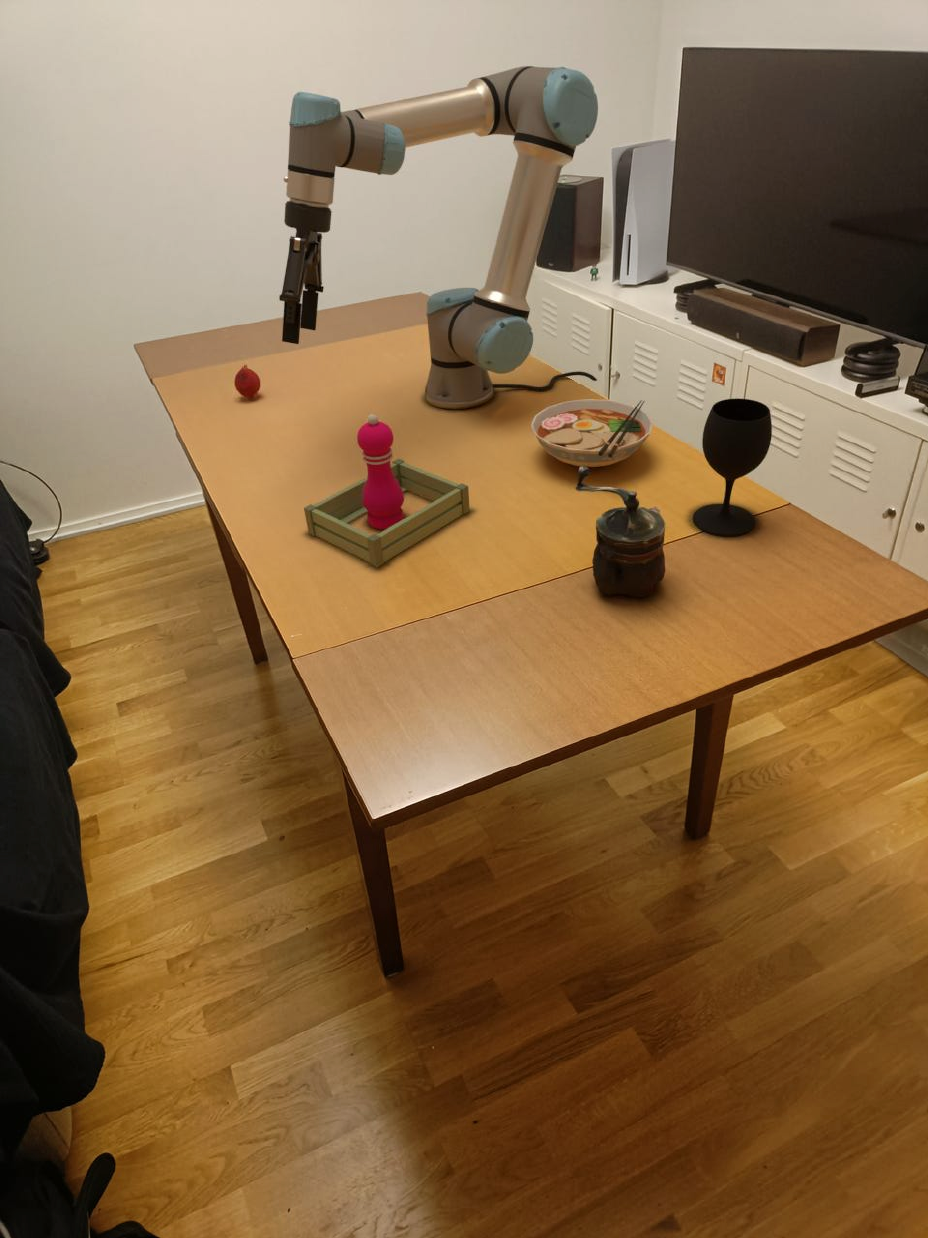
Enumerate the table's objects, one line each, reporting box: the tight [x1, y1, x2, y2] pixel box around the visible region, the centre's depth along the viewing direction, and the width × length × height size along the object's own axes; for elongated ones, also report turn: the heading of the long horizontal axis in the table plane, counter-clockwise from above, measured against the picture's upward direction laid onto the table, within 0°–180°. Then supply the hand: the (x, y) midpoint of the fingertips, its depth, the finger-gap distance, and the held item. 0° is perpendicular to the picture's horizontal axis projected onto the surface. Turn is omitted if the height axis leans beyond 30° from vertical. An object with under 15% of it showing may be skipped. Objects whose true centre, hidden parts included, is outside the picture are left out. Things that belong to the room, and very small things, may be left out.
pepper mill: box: [356, 413, 405, 530], centre depth 143 cm, size 7×7×20 cm
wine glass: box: [692, 398, 773, 538], centre depth 137 cm, size 10×10×20 cm
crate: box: [303, 458, 471, 569], centre depth 147 cm, size 23×18×5 cm
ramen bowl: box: [530, 398, 653, 468], centre depth 161 cm, size 25×23×8 cm
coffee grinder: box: [574, 466, 666, 599], centre depth 125 cm, size 13×15×18 cm
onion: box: [233, 363, 261, 400], centre depth 195 cm, size 6×6×8 cm
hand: (299, 335), depth 149 cm, fingers open, 13 cm apart
